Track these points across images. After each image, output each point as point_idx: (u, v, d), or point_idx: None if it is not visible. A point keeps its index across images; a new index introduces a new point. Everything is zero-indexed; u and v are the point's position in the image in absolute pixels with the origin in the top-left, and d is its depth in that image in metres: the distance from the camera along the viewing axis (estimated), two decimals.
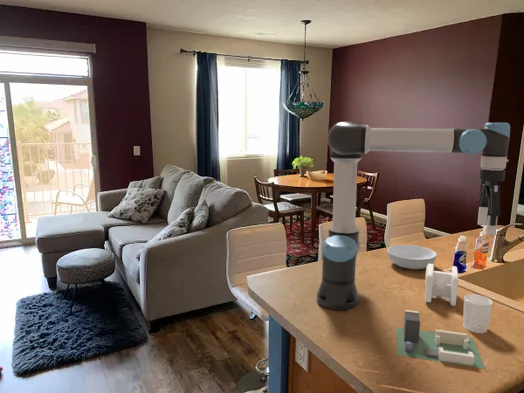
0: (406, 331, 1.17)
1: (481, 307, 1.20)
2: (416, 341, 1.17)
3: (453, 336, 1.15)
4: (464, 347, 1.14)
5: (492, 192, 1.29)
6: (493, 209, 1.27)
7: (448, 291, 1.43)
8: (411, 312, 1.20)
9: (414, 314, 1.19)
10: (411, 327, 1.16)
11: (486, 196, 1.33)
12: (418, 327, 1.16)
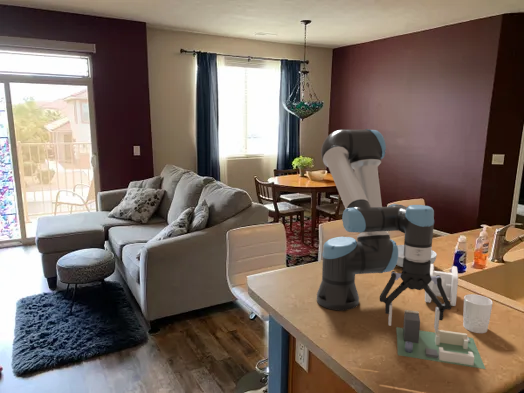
0: (406, 331, 1.17)
1: (481, 307, 1.20)
2: (416, 341, 1.17)
3: (453, 336, 1.15)
4: (464, 347, 1.14)
5: (390, 278, 1.19)
6: (381, 293, 1.21)
7: (448, 291, 1.43)
8: (411, 312, 1.20)
9: (414, 314, 1.19)
10: (411, 327, 1.16)
11: (403, 284, 1.19)
12: (418, 327, 1.16)
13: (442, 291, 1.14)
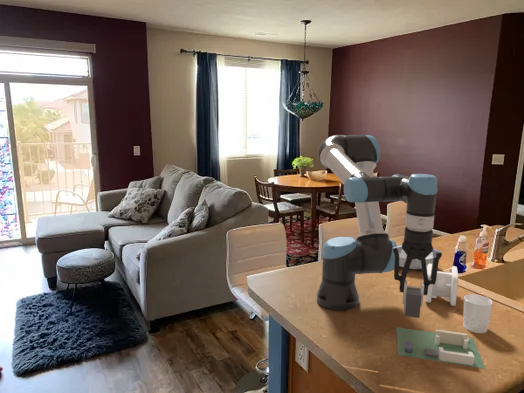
0: (407, 306, 1.16)
1: (481, 307, 1.20)
2: (417, 316, 1.15)
3: (453, 336, 1.15)
4: (464, 347, 1.14)
5: None
6: None
7: (448, 291, 1.43)
8: (412, 287, 1.19)
9: (415, 289, 1.18)
10: (412, 302, 1.15)
11: None
12: (419, 302, 1.14)
13: (436, 265, 1.13)
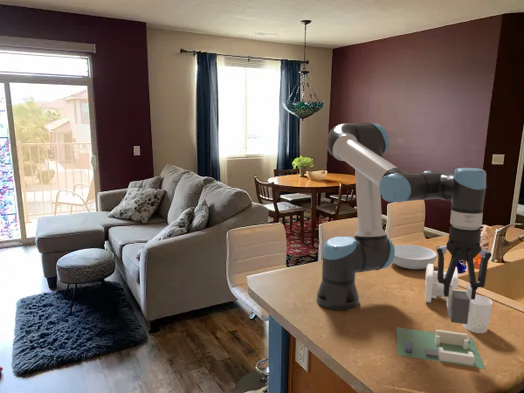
0: (453, 311, 1.07)
1: (481, 307, 1.20)
2: (465, 322, 1.06)
3: (453, 336, 1.15)
4: (464, 347, 1.14)
5: (438, 254, 1.09)
6: (437, 274, 1.10)
7: None
8: (457, 291, 1.10)
9: (461, 293, 1.09)
10: (459, 306, 1.06)
11: None
12: (467, 306, 1.05)
13: (485, 267, 1.04)
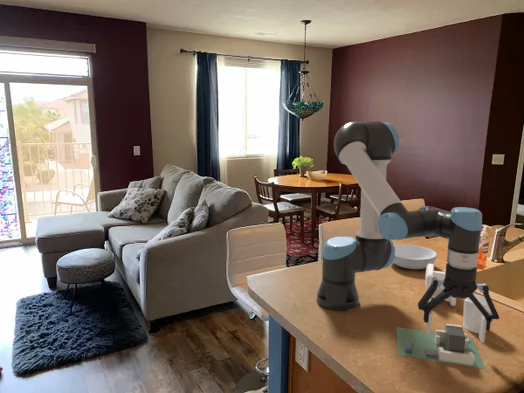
0: (450, 347, 1.09)
1: None
2: None
3: None
4: (464, 347, 1.14)
5: (431, 284, 1.11)
6: (420, 300, 1.13)
7: None
8: (454, 326, 1.12)
9: (457, 328, 1.11)
10: (455, 343, 1.08)
11: None
12: (463, 343, 1.07)
13: (489, 300, 1.06)
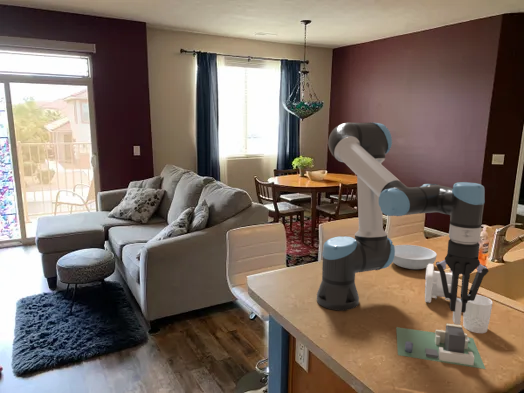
0: (450, 347, 1.09)
1: (481, 307, 1.20)
2: None
3: None
4: (464, 347, 1.14)
5: None
6: (443, 289, 1.10)
7: None
8: (454, 326, 1.12)
9: (457, 328, 1.11)
10: (455, 343, 1.08)
11: None
12: (463, 343, 1.07)
13: (479, 282, 1.05)
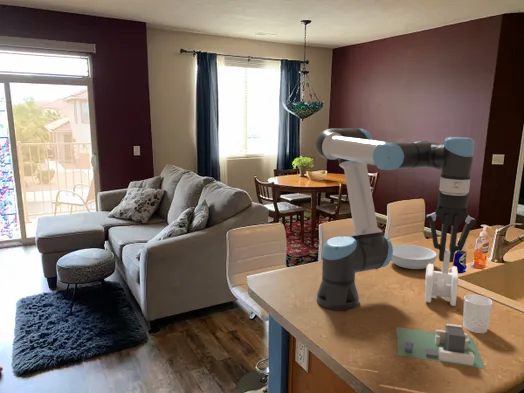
0: (450, 347, 1.09)
1: (481, 307, 1.20)
2: None
3: None
4: (464, 347, 1.14)
5: None
6: None
7: (448, 291, 1.43)
8: (454, 326, 1.12)
9: (457, 328, 1.11)
10: (455, 343, 1.08)
11: None
12: (463, 343, 1.07)
13: (467, 232, 1.10)
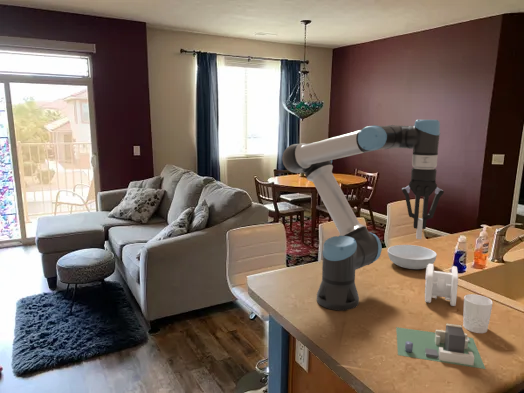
0: (450, 347, 1.09)
1: (481, 307, 1.20)
2: None
3: None
4: (464, 347, 1.14)
5: None
6: None
7: (448, 291, 1.43)
8: (454, 326, 1.12)
9: (457, 328, 1.11)
10: (455, 343, 1.08)
11: None
12: (463, 343, 1.07)
13: (436, 202, 1.28)
